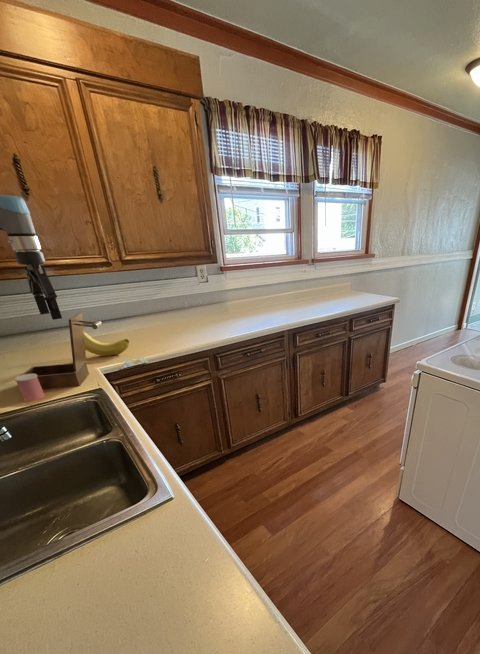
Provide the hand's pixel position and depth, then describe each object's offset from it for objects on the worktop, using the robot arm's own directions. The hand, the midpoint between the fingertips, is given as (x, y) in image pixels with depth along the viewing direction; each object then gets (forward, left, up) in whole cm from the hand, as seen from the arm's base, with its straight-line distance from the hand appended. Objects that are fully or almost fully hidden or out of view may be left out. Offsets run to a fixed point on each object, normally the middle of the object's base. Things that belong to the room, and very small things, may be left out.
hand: (51, 316), depth 116 cm
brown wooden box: (-9, +5, -28) cm, 30 cm away
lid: (+3, +6, -11) cm, 13 cm away
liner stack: (-11, -8, -28) cm, 31 cm away
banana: (-2, +40, -28) cm, 49 cm away
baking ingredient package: (+13, +24, -28) cm, 40 cm away
